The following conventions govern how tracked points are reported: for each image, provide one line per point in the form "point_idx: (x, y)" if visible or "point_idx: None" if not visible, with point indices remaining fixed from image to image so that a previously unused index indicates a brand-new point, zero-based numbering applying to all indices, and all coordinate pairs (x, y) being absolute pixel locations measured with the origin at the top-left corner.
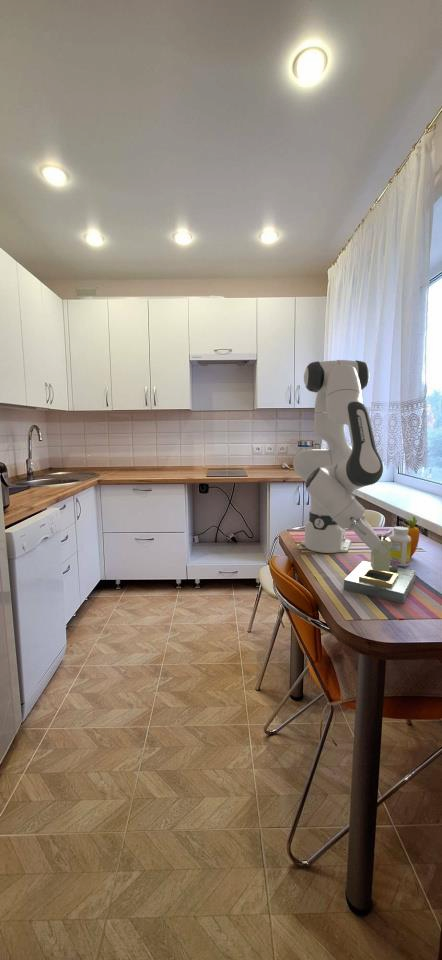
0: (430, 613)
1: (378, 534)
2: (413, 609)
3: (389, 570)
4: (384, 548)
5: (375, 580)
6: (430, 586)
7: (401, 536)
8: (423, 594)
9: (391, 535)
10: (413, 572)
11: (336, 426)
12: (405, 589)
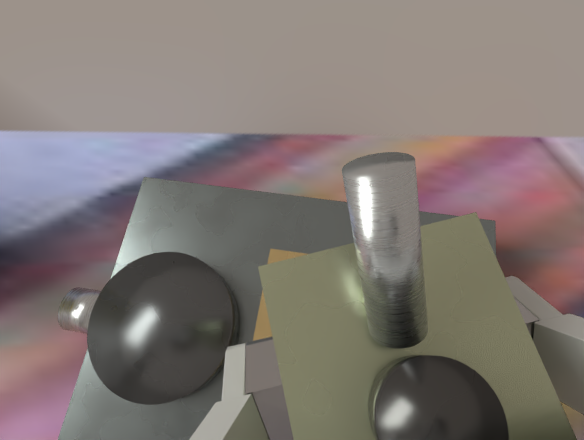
0: (498, 145)
1: (379, 423)
2: (502, 199)
3: (230, 298)
4: (541, 303)
5: None
6: (215, 142)
7: None
8: (318, 166)
9: None
10: (172, 185)
11: None
12: (437, 215)
